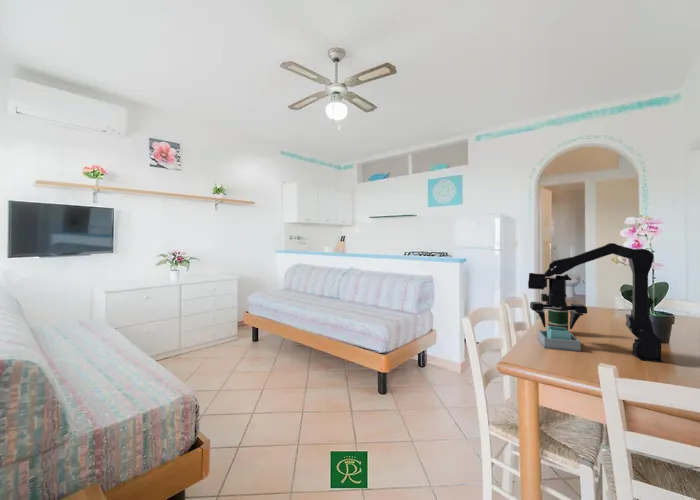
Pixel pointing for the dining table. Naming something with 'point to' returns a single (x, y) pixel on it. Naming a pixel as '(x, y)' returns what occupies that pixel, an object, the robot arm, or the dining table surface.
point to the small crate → (558, 333)
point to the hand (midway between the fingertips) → (557, 328)
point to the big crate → (559, 342)
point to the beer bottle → (558, 318)
